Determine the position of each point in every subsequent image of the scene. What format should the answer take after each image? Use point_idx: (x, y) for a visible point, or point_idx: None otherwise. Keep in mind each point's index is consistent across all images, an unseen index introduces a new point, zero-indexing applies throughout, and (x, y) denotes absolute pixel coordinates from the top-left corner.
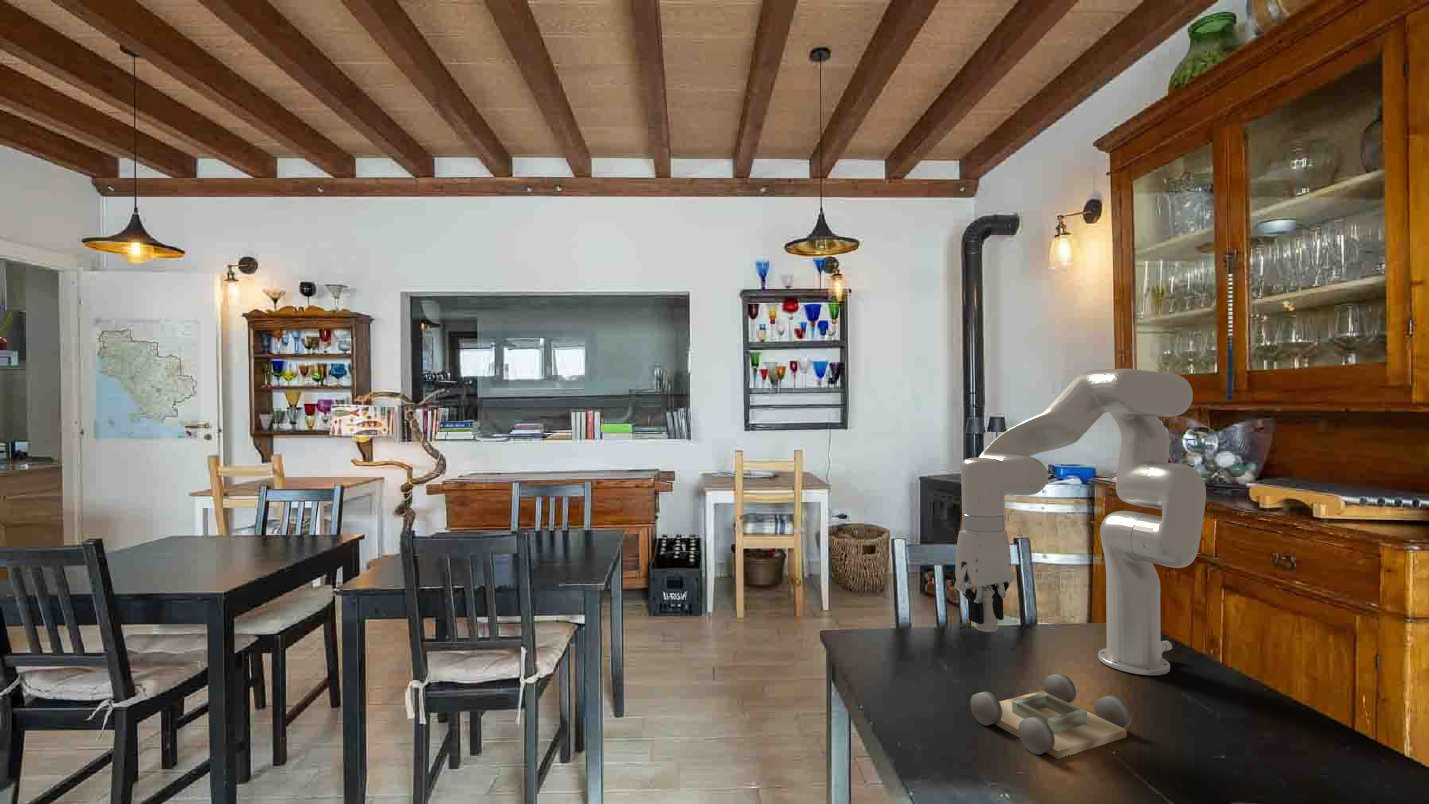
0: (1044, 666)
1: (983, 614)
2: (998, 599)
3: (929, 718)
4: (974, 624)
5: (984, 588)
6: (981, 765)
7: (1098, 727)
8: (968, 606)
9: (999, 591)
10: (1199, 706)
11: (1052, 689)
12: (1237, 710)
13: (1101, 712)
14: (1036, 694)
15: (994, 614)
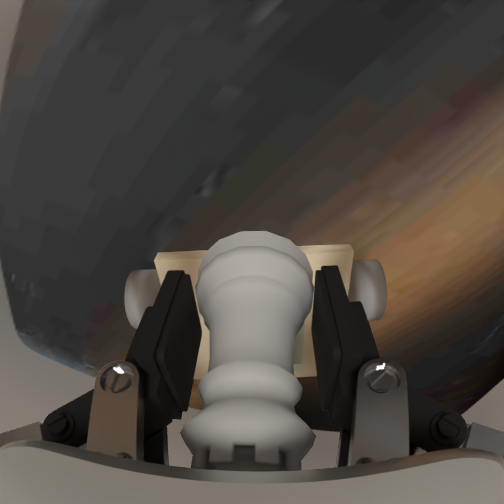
0: (491, 138)
1: (195, 365)
2: (326, 407)
3: (67, 234)
4: (208, 257)
5: (230, 467)
6: (91, 345)
7: (304, 363)
8: (132, 343)
9: (338, 451)
10: (490, 331)
11: (354, 282)
12: (500, 345)
13: None
14: (326, 260)
15: (314, 316)
